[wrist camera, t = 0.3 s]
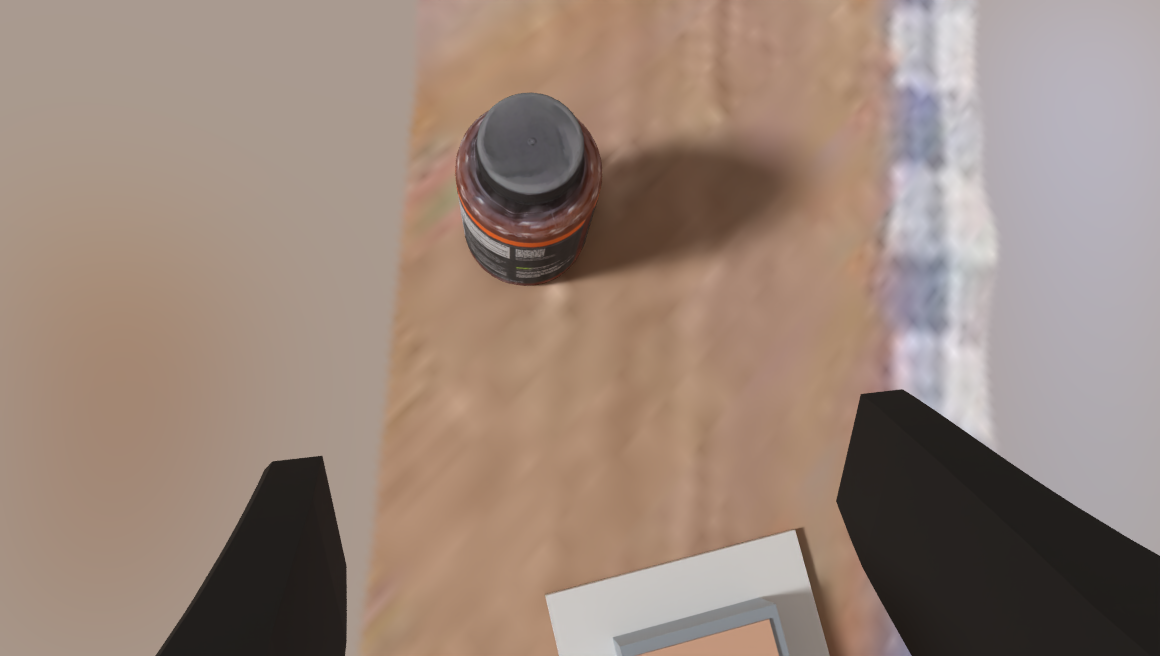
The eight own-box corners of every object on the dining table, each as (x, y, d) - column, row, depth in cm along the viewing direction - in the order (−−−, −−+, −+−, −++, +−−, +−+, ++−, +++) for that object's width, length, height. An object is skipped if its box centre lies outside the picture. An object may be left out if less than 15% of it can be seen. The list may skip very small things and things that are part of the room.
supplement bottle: (543, 151, 45) (559, 37, 34) (608, 250, 44) (645, 167, 33) (440, 210, 44) (420, 112, 32) (504, 311, 43) (506, 248, 32)
